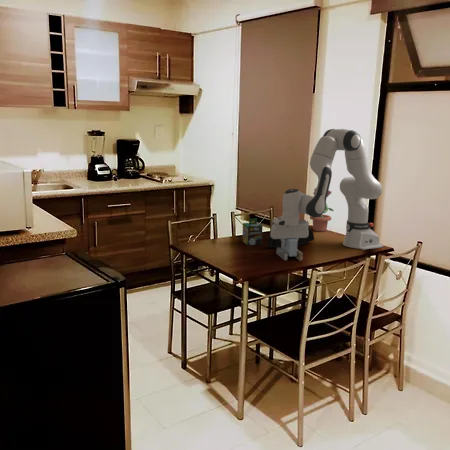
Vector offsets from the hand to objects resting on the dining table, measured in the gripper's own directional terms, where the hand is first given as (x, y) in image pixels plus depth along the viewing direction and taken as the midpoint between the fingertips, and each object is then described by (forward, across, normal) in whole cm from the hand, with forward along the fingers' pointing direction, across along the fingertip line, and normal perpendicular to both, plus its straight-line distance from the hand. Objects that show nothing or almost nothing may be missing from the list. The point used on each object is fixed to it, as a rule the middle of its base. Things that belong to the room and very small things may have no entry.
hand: (289, 246), depth 245 cm
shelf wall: (+6, -4, 0) cm, 7 cm away
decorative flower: (+6, -43, -52) cm, 68 cm away
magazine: (+6, -9, -20) cm, 23 cm away
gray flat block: (+6, +4, 0) cm, 7 cm away
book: (+4, 0, 0) cm, 4 cm away
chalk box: (+6, +11, -29) cm, 32 cm away
